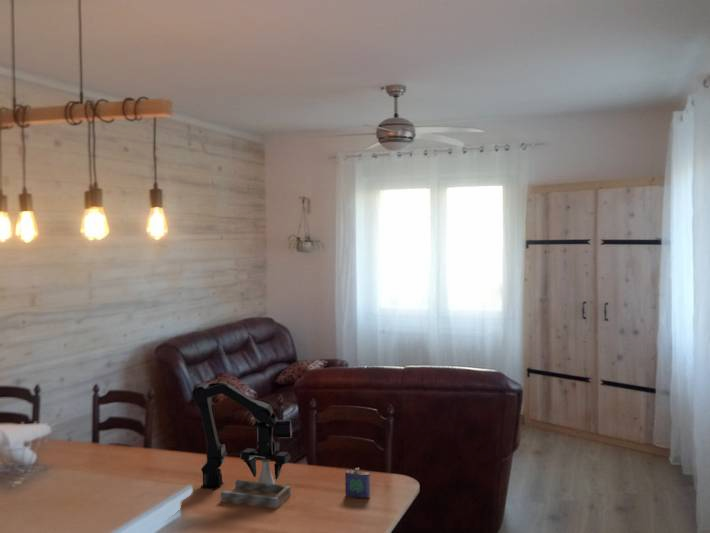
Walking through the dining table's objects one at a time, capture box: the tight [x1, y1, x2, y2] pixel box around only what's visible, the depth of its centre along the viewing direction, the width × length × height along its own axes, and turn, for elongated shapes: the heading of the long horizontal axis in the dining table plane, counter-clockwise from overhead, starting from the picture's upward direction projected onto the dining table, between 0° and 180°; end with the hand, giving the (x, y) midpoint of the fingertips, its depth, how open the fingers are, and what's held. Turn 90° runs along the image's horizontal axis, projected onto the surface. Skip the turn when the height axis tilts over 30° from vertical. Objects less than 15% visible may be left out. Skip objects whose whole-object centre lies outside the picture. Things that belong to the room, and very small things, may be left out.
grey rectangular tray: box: [220, 479, 292, 510], centre depth 231 cm, size 22×12×4 cm, turn 72°
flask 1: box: [257, 458, 276, 484], centre depth 243 cm, size 7×7×10 cm
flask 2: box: [344, 467, 371, 500], centre depth 232 cm, size 9×3×11 cm, turn 74°
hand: (265, 477), depth 243 cm, fingers open, 9 cm apart
